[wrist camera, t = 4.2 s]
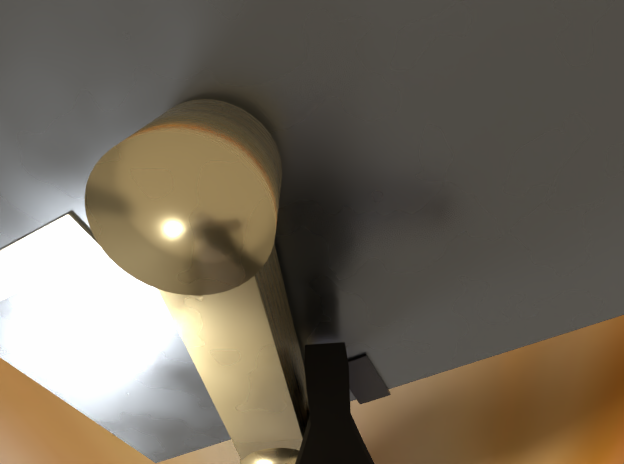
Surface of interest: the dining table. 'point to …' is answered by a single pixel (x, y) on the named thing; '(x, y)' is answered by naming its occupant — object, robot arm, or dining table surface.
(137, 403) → the lock plate
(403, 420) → the dining table surface
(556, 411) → the dining table surface
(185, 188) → the lever
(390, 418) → the dining table surface
